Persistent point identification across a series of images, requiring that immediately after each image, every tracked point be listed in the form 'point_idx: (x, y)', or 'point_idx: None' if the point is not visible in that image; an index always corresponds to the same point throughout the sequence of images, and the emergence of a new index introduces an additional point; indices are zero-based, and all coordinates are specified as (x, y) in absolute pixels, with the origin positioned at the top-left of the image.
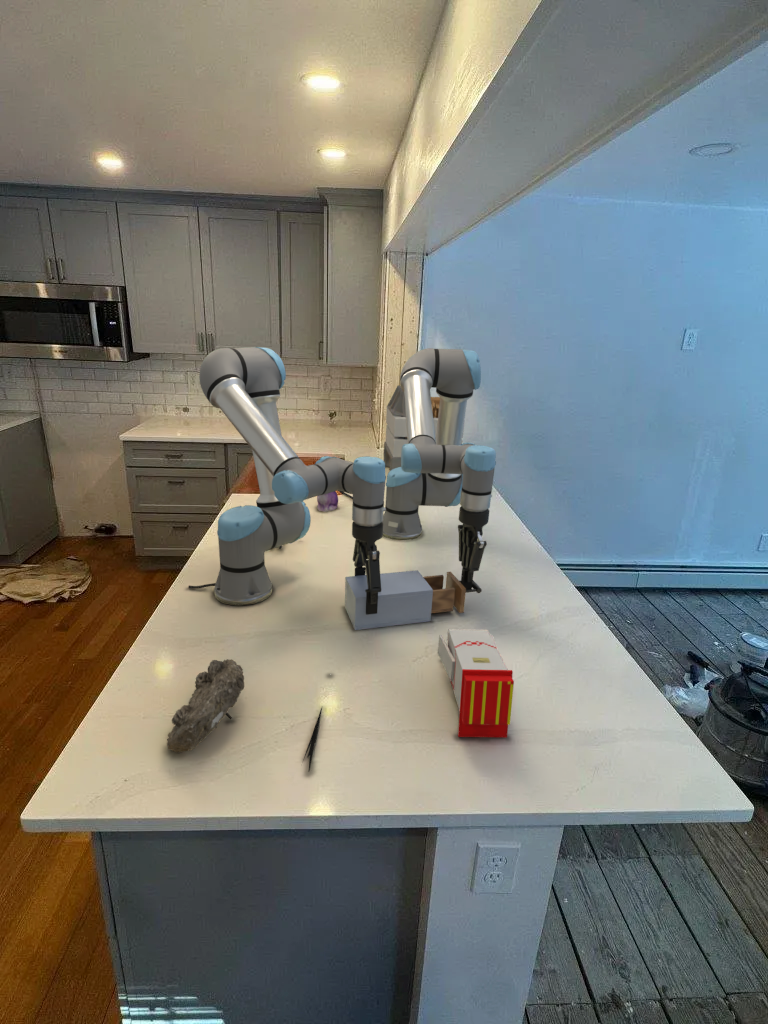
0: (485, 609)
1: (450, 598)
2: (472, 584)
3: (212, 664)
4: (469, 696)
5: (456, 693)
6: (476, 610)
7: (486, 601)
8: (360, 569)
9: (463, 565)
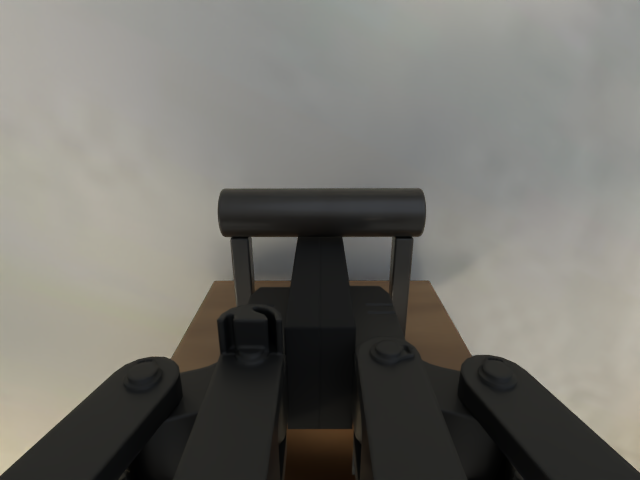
0: (388, 116)
1: None
2: (328, 236)
3: None
4: None
5: None
6: (384, 175)
7: (295, 60)
8: None
9: (286, 442)
